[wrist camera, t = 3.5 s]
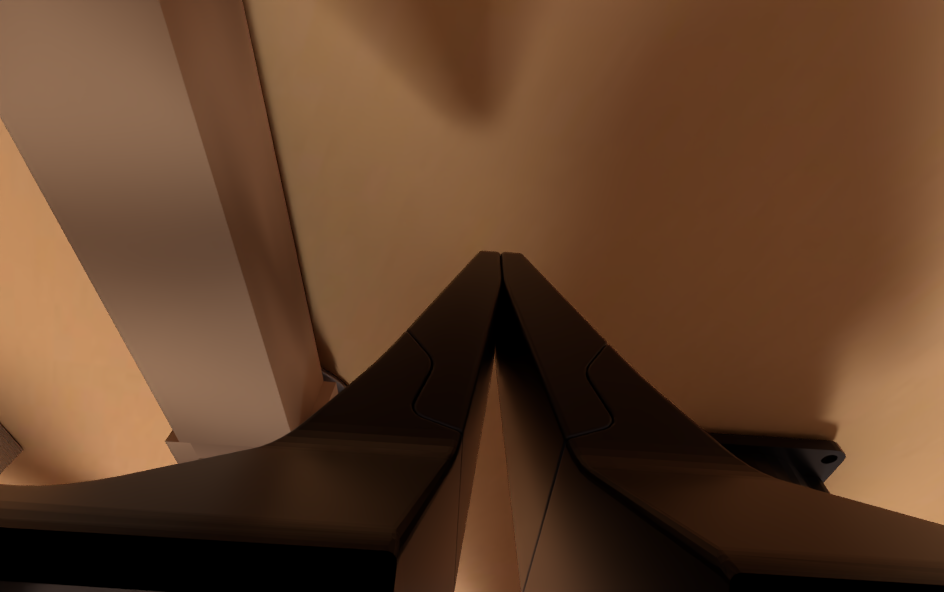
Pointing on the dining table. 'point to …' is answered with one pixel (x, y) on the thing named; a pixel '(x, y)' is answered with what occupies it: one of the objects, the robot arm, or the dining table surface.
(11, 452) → the block
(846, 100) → the dining table surface
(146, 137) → the link
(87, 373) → the dining table surface
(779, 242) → the dining table surface
